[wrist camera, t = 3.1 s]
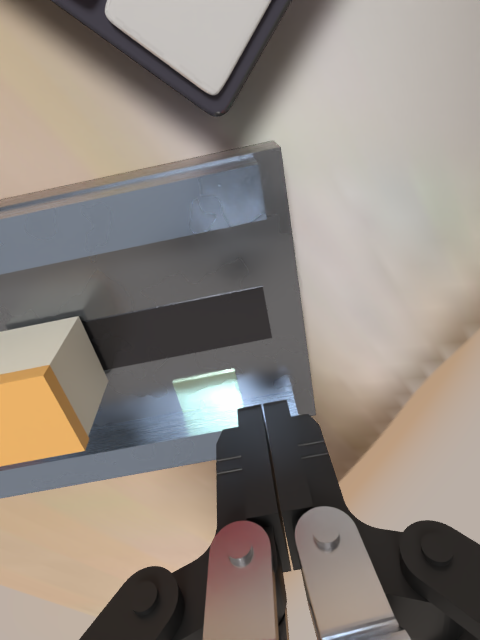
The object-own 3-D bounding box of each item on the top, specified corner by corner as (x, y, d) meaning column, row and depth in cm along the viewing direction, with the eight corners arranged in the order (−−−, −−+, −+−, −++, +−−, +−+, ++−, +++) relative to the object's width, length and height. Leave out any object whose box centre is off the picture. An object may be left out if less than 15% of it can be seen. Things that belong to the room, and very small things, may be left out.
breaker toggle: (-3, 331, 17) (-61, 395, 13) (79, 314, 17) (42, 375, 13) (35, 396, 19) (-7, 468, 15) (109, 381, 19) (85, 450, 15)
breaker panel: (-284, 261, 17) (-402, 302, 14) (273, 140, 16) (288, 153, 13) (-98, 465, 24) (-148, 526, 20) (308, 389, 22) (324, 441, 19)
